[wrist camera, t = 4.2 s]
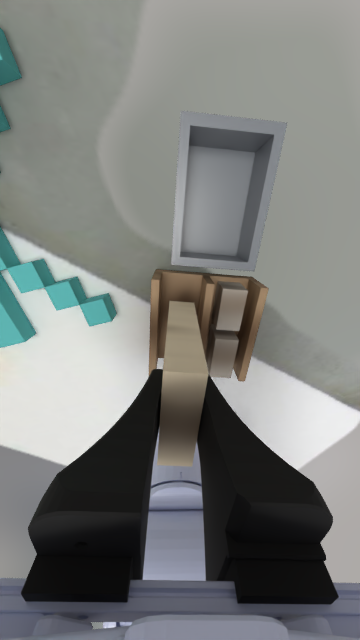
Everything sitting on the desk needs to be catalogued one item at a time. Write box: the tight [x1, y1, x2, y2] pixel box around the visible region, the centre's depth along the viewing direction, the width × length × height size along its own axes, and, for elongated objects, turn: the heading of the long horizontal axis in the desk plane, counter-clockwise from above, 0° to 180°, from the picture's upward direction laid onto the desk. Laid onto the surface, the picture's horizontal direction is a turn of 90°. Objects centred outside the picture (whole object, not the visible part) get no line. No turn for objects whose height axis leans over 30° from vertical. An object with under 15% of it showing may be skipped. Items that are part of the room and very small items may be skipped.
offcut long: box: [205, 324, 239, 378], centre depth 20 cm, size 4×2×3 cm, turn 176°
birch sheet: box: [157, 301, 208, 467], centre depth 13 cm, size 6×2×8 cm, turn 175°
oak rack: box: [149, 269, 268, 381], centre depth 20 cm, size 9×9×4 cm
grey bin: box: [171, 111, 287, 271], centre depth 16 cm, size 9×6×4 cm
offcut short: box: [212, 281, 248, 331], centre depth 19 cm, size 4×2×3 cm, turn 175°
